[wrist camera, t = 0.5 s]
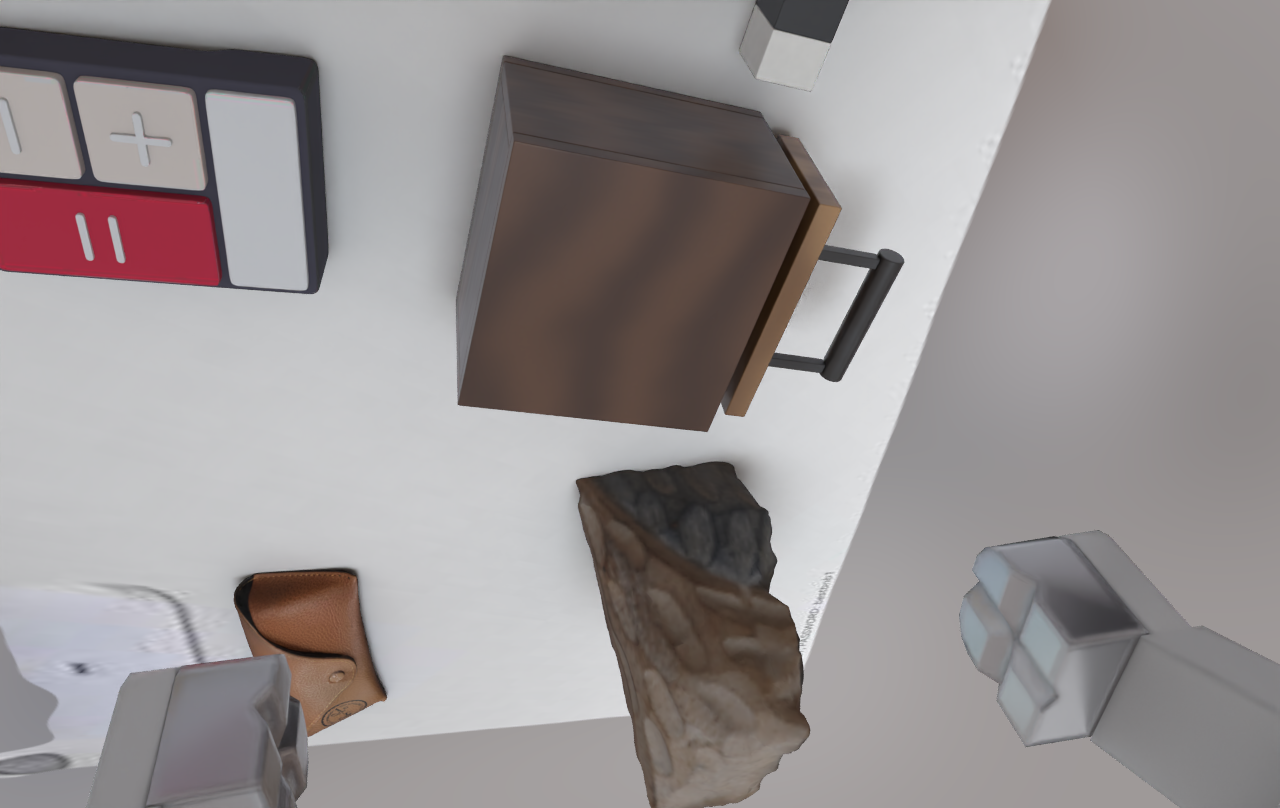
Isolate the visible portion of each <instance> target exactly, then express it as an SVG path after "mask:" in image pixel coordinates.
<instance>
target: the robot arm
mask: <svg viewBox="0 0 1280 808" xmlns="http://www.w3.org/2000/svg"><path fill="white" fill-rule="evenodd" d="M972 571H973V572H974V574H975V575H976V577H977V578H978V580H979V582H978V583H977V584H976V585H975V586H974V587H973V588H972V589H971V590H970V591H969V592H968V593H967V594H966V595H965V596H964V598H963V602H962V606H961V610H960V614H959V619H960V628H961V637H962V640H963V642H964V645H965V647H966V650H967V653H968V655H969V657H970V658H971V660H972V661H973V663H974V665H975V667H976V668H977V670H978V671H980V672H981V673H983V674H984V675H986V676H988V677H989V678H991V679H992V680H994V681H996V682H997V683H999V686H998V694H997V702H998V704H999V705H1000V707H1001V708H1002V710H1003V712H1004V713H1005V715H1006V716H1007V718H1008V720H1009V721H1010V723H1011V724H1012V726H1013V728H1014V729H1015V731H1016V732H1017V734H1018V736H1019V737H1020V739H1021V740H1022V742H1023V744H1024V745H1025V746H1026V747H1029V746H1035V745H1041V744H1048V743H1054V742H1060V741H1066V740H1073V739H1079V738H1085V737H1091V736H1092V737H1091V739H1090V741H1092V742H1093V743H1094V744H1096V745H1097V746H1098V747H1100V748H1101V749H1103V750H1104V751H1105V752H1106V753H1108V754H1109V755H1111V756H1112V757H1113V758H1114V759H1116V760H1117V761H1119V762H1120V763H1121V764H1122V765H1124V766H1125V767H1126V768H1128V769H1129V770H1130V771H1132V772H1133V773H1135V774H1136V775H1137V776H1139V777H1140V778H1141V779H1142V780H1144V781H1145V782H1147V783H1148V784H1149V785H1151V786H1152V787H1153V788H1155V789H1156V790H1157V791H1159V792H1160V793H1161V794H1163V795H1164V796H1165V797H1167V798H1168V799H1169V800H1171V801H1172V802H1173V803H1175V804H1176V805H1177V806H1179V807H1180V808H1280V664H1278V663H1276V662H1274V661H1272V660H1270V659H1268V658H1266V657H1264V656H1262V655H1260V654H1258V653H1256V652H1254V651H1252V650H1250V649H1248V648H1246V647H1244V646H1242V645H1240V644H1238V643H1236V642H1234V641H1232V640H1230V639H1228V638H1226V637H1224V636H1222V635H1220V634H1218V633H1216V632H1214V631H1212V630H1210V629H1208V628H1206V627H1204V626H1197V627H1191V626H1190V625H1189V624H1188V623H1187V622H1186V620H1185V619H1184V618H1183V617H1182V616H1181V615H1180V614H1179V613H1178V612H1177V610H1176V609H1175V608H1174V607H1173V606H1172V605H1171V604H1170V603H1169V601H1167V599H1166V598H1165V597H1164V596H1163V595H1162V594H1161V592H1160V591H1159V590H1158V589H1157V588H1156V587H1155V586H1154V585H1153V584H1152V582H1151V581H1150V580H1149V579H1148V578H1147V577H1146V576H1145V575H1144V574H1143V572H1142V571H1141V570H1140V569H1139V568H1138V567H1137V566H1136V565H1135V563H1133V561H1132V560H1131V559H1130V558H1129V557H1128V556H1127V554H1126V553H1125V552H1124V551H1123V550H1122V549H1121V548H1120V547H1119V545H1117V543H1116V542H1115V541H1114V540H1113V539H1112V538H1111V537H1110V536H1109V535H1107V534H1105V533H1103V532H1101V531H1099V530H1097V531H1090V532H1083V533H1076V534H1070V535H1064V536H1059V537H1054V536H1053V537H1047V538H1041V539H1035V540H1028V541H1023V542H1016V543H1010V544H1004V545H998V546H992V547H986V548H984V549H983V550H982V551H981V552H980V553H979V554H978V555H977V557H976V561H975V563H974V566H973V569H972ZM291 676H292V674H291V671H290V668H289V665H288V663H287V660H286V657H285V655H284V654H274V655H266V656H257V657H249V658H241V659H233V660H225V661H217V662H209V663H201V664H193V665H185V666H181V667H173V668H166V669H158V670H151V671H143V672H136V673H130V674H129V676H128V677H127V679H126V680H125V682H124V683H123V685H122V686H121V688H120V690H119V694H118V697H117V701H116V704H115V708H114V711H113V715H112V718H111V722H110V725H109V729H108V732H107V735H106V739H105V742H104V746H103V749H102V753H101V756H100V760H99V763H98V767H97V770H96V774H95V777H94V781H93V784H92V788H91V791H90V795H89V798H88V802H87V805H86V808H297V805H296V801H297V799H298V798H299V797H300V795H301V794H302V793H303V792H304V790H305V789H306V787H307V775H308V738H307V730H306V724H305V718H304V713H303V710H302V706H301V703H300V701H299V700H297V699H296V698H294V697H292V696H291V695H290V687H291Z"/></svg>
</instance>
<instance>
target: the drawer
mask: <svg viewBox="0 0 1280 808" xmlns="http://www.w3.org/2000/svg"><path fill="white" fill-rule="evenodd" d="M777 142H778V143H779V145H780V147H781V149H782V150H783V152H784V154H785V156H786V157H787V159H788V161H789V163H790V164H791V166H792V168H793V169H794V171H795V173H796V175H797V176H798V178H799V180H800V182H801V183H802V185H803V187H804V189H805V190H806V191H807V193H808V195H809V197H810V201H809V204H808V206H807V208H806V210H805V213H804V215H803V217H802V219H801V222H800V224H799V226H798V229H797V231H796V233H795V235H794V238H793V240H792V242H791V244H790V247H789V249H788V251H787V253H786V256H785V258H784V260H783V262H782V265H781V267H780V269H779V271H778V274H777V276H776V278H775V281H774V283H773V285H772V287H771V290H770V292H769V294H768V296H767V299H766V301H765V303H764V305H763V308H762V310H761V312H760V314H759V317H758V319H757V321H756V324H755V326H754V328H753V330H752V333H751V335H750V337H749V339H748V342H747V344H746V346H745V348H744V351H743V353H742V355H741V357H740V360H739V362H738V364H737V366H736V369H735V371H734V373H733V376H732V378H731V380H730V382H729V385H728V387H727V389H726V391H725V394H724V396H723V398H722V400H721V404H722V407H723V410H724V413H725V415H732V416H741V417H744V416H745V414H746V412H747V410H748V408H749V405H750V403H751V401H752V399H753V397H754V395H755V393H756V391H757V388H758V386H759V384H760V382H761V380H762V378H763V376H764V373H765V371H766V369H767V367H768V366H771V367H779V368H786V369H794V370H801V371H809V372H816V373H820V375H821V376H822V377H823V378H825V379H826V380H829V381H832V382H838V381H840V380H841V379H842V377H843V375H844V374H845V372H846V370H847V368H848V366H849V364H850V362H851V361H852V359H853V357H854V355H855V353H856V351H857V349H858V348H859V346H860V344H861V342H862V340H863V338H864V336H865V334H866V333H867V331H868V329H869V327H870V325H871V323H872V321H873V320H874V318H875V316H876V314H877V312H878V310H879V308H880V307H881V305H882V303H883V301H884V299H885V297H886V295H887V294H888V292H889V290H890V288H891V286H892V284H893V282H894V280H895V279H896V277H897V275H898V273H899V271H900V269H901V267H902V266H903V264H904V259H903V257H902V256H901V255H900V254H898V253H897V252H895V251H892V250H889V249H881V250H880V251H879V252H878V254H877V255H876V254H873V253H867V252H862V251H856V250H851V249H845V248H839V247H834V246H828V245H825V243H826V241H827V239H828V237H829V235H830V233H831V231H832V228H833V226H834V224H835V222H836V220H837V218H838V216H839V213H840V211H841V209H842V208H841V206H840V205H839V203H838V201H837V200H836V198H835V196H834V195H833V193H832V192H831V190H830V188H829V187H828V185H827V183H826V182H825V180H824V179H823V177H822V175H821V174H820V172H819V170H818V169H817V167H816V166H815V164H814V162H813V161H812V159H811V157H810V156H809V154H808V153H807V151H806V149H805V148H804V146H803V144H802V143H801V141H800V140H799V138H795V137H790V136H785V135H781V134H779V135H778V138H777ZM817 260H824V261H830V262H835V263H841V264H847V265H853V266H859V267H864V268H870V270H869V271H868V273H867V275H866V277H865V279H864V281H863V283H862V285H861V287H860V289H859V291H858V293H857V295H856V297H855V299H854V301H853V303H852V305H851V307H850V309H849V310H848V312H847V314H846V316H845V318H844V320H843V322H842V324H841V326H840V328H839V330H838V332H837V334H836V336H835V338H834V340H833V342H832V344H831V346H830V348H829V349H828V351H827V353H826V355H825V357H824V359H823V360H822V359H817V358H810V357H802V356H795V355H788V354H780V353H774V352H775V350H776V348H777V346H778V344H779V341H780V339H781V337H782V335H783V333H784V331H785V329H786V327H787V324H788V322H789V320H790V318H791V316H792V314H793V312H794V309H795V307H796V305H797V303H798V301H799V299H800V297H801V295H802V292H803V290H804V288H805V286H806V284H807V282H808V280H809V277H810V275H811V273H812V271H813V269H814V267H815V265H816V263H817Z"/></svg>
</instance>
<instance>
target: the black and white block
mask: <svg viewBox="0 0 1280 808" xmlns="http://www.w3.org/2000/svg"><path fill="white" fill-rule="evenodd" d="M848 1H849V0H757V1H756V5H755V7H754V10H753V13H752V15H751V18H750V21H749V24H748V27H747V30H746V33H745V35H744V38H743V41H742V44H741V47H740V50H739V52H740V54H741V56H742V57H743V59H744V61H745V62H746V64H747V66H748V67H749V69H750V71H751V72H752V74H753V76H754V77H755V79H758V80H762V81H766V82H771V83H775V84H779V85H784V86H788V87H792V88H796V89H801V90H805V91H809V92H811V91H812V89H813V87H814V84H815V82H816V80H817V77H818V75H819V72H820V70H821V67H822V65H823V62H824V60H825V58H826V55H827V53H828V50H829V48H830V45H831V42H832V40H833V38H834V36H835V33H836V31H837V28H838V26H839V23H840V21H841V18H842V16H843V14H844V11H845V9H846V6H847V4H848Z"/></svg>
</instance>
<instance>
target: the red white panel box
mask: <svg viewBox="0 0 1280 808" xmlns="http://www.w3.org/2000/svg"><path fill="white" fill-rule="evenodd" d="M327 257H328V233H327V216H326V198H325V181H324V163H323V146H322V128H321V111H320V93H319V76H318V67H317V65H316V63H315V62H314V61H313V60H311V59H308V58H302V57H294V56H286V55H277V54H269V53H260V52H252V51H243V50H234V49H231V50H220V51H198V50H190V49H181V48H173V47H164V46H156V45H147V44H139V43H130V42H122V41H113V40H105V39H97V38H88V37H80V36H71V35H63V34H54V33H46V32H37V31H29V30H20V29H12V28H3V27H0V270H2V271H7V272H19V273H32V274H46V275H59V276H73V277H86V278H100V279H113V280H127V281H140V282H154V283H167V284H180V285H194V286H207V287H221V288H234V289H248V290H261V291H275V292H288V293H302V294H314V293H316V292H317V291H318V290H319V287H320V284H321V280H322V276H323V273H324V269H325V265H326V261H327Z"/></svg>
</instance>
